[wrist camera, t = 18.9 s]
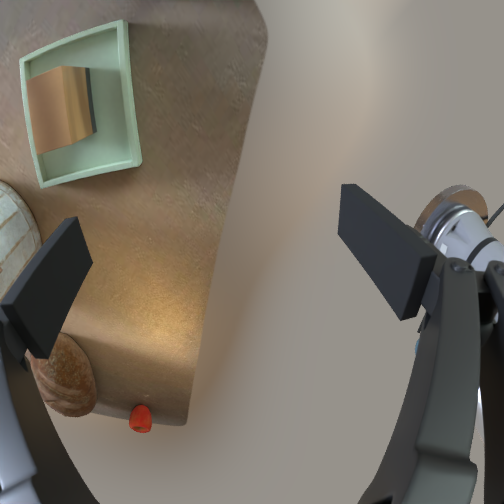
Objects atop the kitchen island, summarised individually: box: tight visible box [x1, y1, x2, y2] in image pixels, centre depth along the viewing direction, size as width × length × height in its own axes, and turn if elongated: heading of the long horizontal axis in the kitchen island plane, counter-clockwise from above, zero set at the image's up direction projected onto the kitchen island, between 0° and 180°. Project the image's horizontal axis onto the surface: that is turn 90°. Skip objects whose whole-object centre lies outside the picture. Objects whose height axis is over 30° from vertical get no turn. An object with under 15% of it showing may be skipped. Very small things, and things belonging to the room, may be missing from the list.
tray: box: [20, 19, 143, 189], centre depth 28 cm, size 16×20×2 cm
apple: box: [129, 405, 152, 433], centre depth 63 cm, size 6×6×8 cm
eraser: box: [26, 66, 97, 155], centre depth 25 cm, size 5×9×8 cm, turn 3°
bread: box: [31, 332, 97, 417], centre depth 50 cm, size 16×29×11 cm, turn 162°
